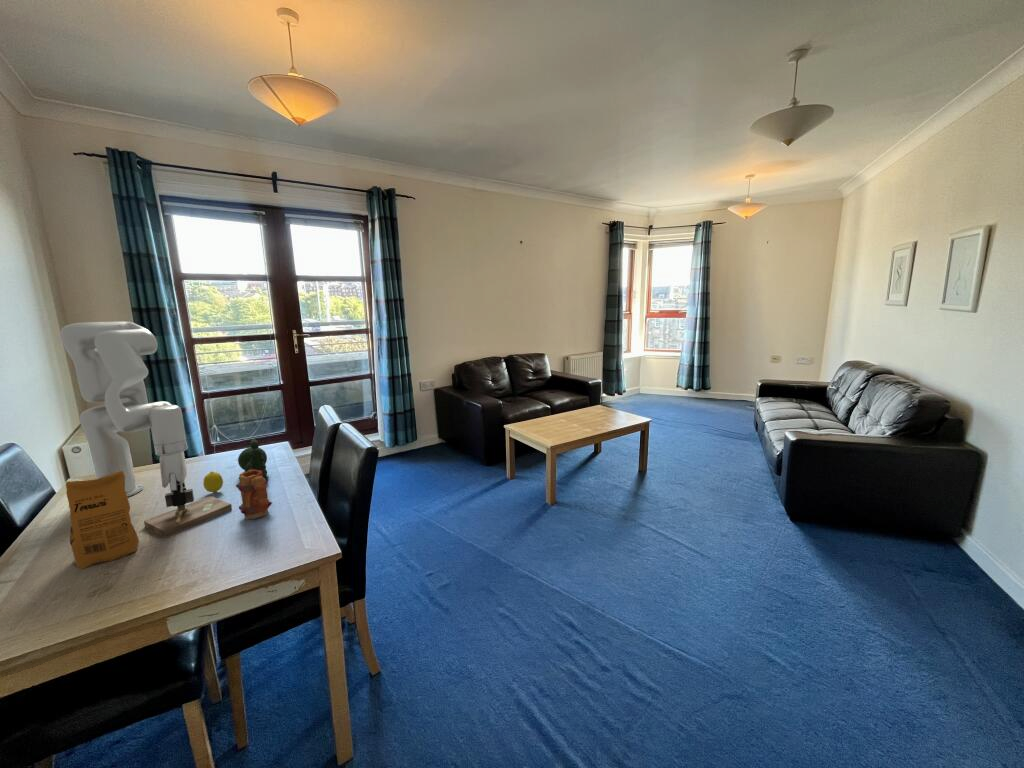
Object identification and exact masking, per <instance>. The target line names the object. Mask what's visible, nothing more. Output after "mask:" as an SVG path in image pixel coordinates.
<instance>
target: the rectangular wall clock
mask: <svg viewBox="0 0 1024 768" xmlns="http://www.w3.org/2000/svg"><path fill="white" fill-rule="evenodd" d="M185 507H187V511H185V512H183V513H182V516H181V519H180V522H178V523H177V522H176V520H177V517H178V514H179V513H177V512H176V510H177V509H178V508H175V509H173V510H169V511H167V512H164V513H161V514H159V515H155V516H154V517H150V518H148V519H145V520H143V524H144V528H146V529H147V530H150V531H151V532H154V533H156V534H158V535H159V536H162V537H163V538H167V537H170V536H173V535H175V534H177V533H179V532H182V531H184V530H187V529H190V528H191V527H194V526H196V525H198V524H201V523H204V522H206V521H208V520H211V519H213V518H216V517H218V516H221V515H222V514H225V513H228V512H231V511H232V510H233V507H232V504H231V503H230V502H227V501H224V500H222V499H219V498H217V497H214V496H211V495H210V496H207V497H204V498H202V499H199V500H196V501H193V502H190V503H187V504H185Z"/></svg>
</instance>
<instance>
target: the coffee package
mask: <svg viewBox="0 0 1024 768" xmlns="http://www.w3.org/2000/svg"><path fill="white" fill-rule="evenodd" d="M65 487H66V498H67V501H68V508H69V513H70V514H69V520H70V524H71V525H70V533H69V543H70V545H71V550H72V554H73V557H74V563H75V565H76V566H77V568H79V569H85V568H88V567H90V566H92V565H96V564H97V563H102V562H103V563H104V562H105V563H106V562H111V561H114V560H117V559H120V558H122V557H124V556H127V555H129V554H132V553H135V552H136V551H137V550H138V548H139V547H138V546H139V543H140V539H139V536H138V534H137V531H136V530H135V528H134V526H133V524H132V521H131V515H130V512H131V511H130V510H131V505H130V502H129V498H128V497H127V494H126V492H125V476H124V473H123V471H120V472H116V473H113V474H110V475H108V476H104V477H101V478H98V479H96V478H94V479H87V480H84V479H83V480H73V481H66V482H65Z"/></svg>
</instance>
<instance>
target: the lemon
mask: <svg viewBox="0 0 1024 768" xmlns="http://www.w3.org/2000/svg"><path fill="white" fill-rule="evenodd" d="M202 483H203V488H204V490H206V492H209V493H213V494H215V493H217V492H218V491H220V490H221V488H223V484H224V479H223V476H222V474H220V473H219V472H218V471H217V472H216V471H210V472H209V473H207V474H206V475H205V476H204V478H203V482H202Z"/></svg>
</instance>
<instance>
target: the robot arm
mask: <svg viewBox="0 0 1024 768" xmlns="http://www.w3.org/2000/svg"><path fill="white" fill-rule="evenodd" d="M60 342H61V344H62V345H63V348H64V349H65V351H66V352H67V354H68V355H69V357H70V359H71V360H72V362H73V365H74V370H75V373H76V374H75V375H76V379H77V383H78V387H79V392H80V395H81V397H82V399H83V400H84V401H85V402H87V403H91V404H92V403H94V404H95V403H104V404H103V405H98V406H93V407H90V408H88V409H86V410H84V411H82V412H81V413H80V415H79V417H78V418H79V420H78V421H79V425H80V426H81V429H82V430H83V433H84V434H85V438H86V440H87V445H88V447H89V451H90V452H89V453H90V456H91V461H92V466H93V471H94V476H95V479H98V478H101V477H104V476H108V475H110V474H113V473H116V472H120V471H123V473H124V476H125V492H126V494H127V498H128V497H131V496H133V495H137V494H138V493H139V492H141V491H142V490H143V489H144V486H143V483H141V482H137V481H136V475H135V469H134V464H133V459H132V453H131V448H130V444H129V441H128V440H127V439H126V438H124V437H123V436H121V435H119V434H118V433H119V432H122V433H126V434H129V433H130V434H131V433H135V432H139V431H145V430H150V432H151V436H152V437H151V438H152V442H153V448H154V453H155V455H156V456H159V468H160V469H159V470H160V478H161V485H162V487H163V488H167V487H168V486H169V489H170V493H171V498H172V503H173V506H172V507H177V506H180V505H187V503H186V497H185V491H184V492H183V490H187V487H186V483H185V481H186V477H187V463H186V457H185V456H186V455H185V451H187V450H188V449H189V448H188V441H187V435H186V430H185V424H184V417H183V412H182V408H181V407H180V406H179V405H176V404H171V403H170V402H168V401H164V400H161V401H155V402H150V403H149V399H148V396H147V395H148V394H147V389H146V385H145V381H144V379H146V378H147V376H149V369H148V368H147V366H146V364H145V362H144V360H143V358H142V356H146V355H147V356H148V355H153V354H155V353H156V352H157V350H158V340H157V339H156V337H155V335H154V334H153V333H152V332H151V331H150V330H149V329H147V328H145V327H144V326H141V325H139V324H137V323H135V322H131V321H124V320H123V321H90V322H89V321H87V322H86V321H85V322H75V323H71V324H67V325H65V326H63V327H62V328H61V331H60ZM123 399H126V401H123V402H122V400H123Z"/></svg>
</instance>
